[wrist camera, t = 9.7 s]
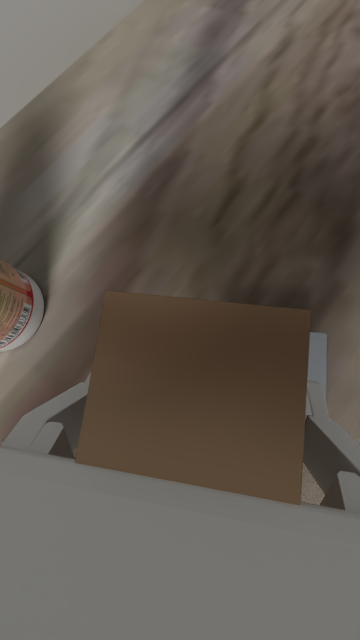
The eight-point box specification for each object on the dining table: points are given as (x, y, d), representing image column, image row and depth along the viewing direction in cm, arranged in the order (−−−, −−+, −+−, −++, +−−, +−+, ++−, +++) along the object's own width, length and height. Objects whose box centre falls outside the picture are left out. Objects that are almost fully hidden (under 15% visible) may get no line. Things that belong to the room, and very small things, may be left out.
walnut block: (249, 443, 16) (297, 551, 6) (157, 428, 16) (67, 502, 7) (257, 349, 17) (311, 310, 7) (169, 339, 17) (106, 290, 8)
